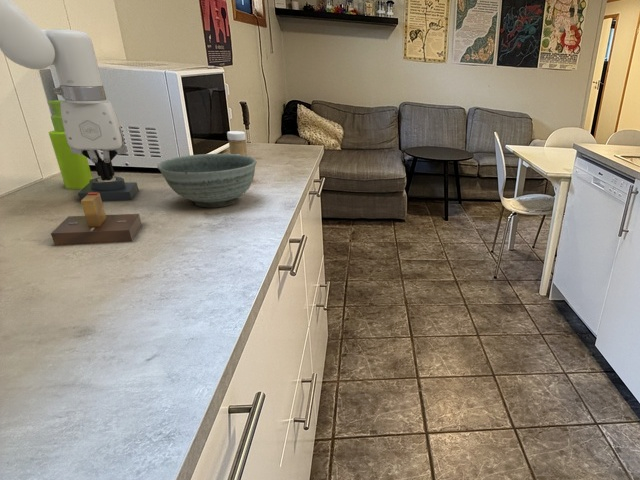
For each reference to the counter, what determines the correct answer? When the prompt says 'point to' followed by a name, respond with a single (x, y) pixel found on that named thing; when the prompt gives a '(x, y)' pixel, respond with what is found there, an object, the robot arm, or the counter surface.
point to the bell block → (111, 189)
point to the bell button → (106, 180)
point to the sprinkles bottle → (237, 142)
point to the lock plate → (97, 230)
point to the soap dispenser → (68, 154)
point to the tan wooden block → (93, 209)
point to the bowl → (209, 177)
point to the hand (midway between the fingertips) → (107, 178)
